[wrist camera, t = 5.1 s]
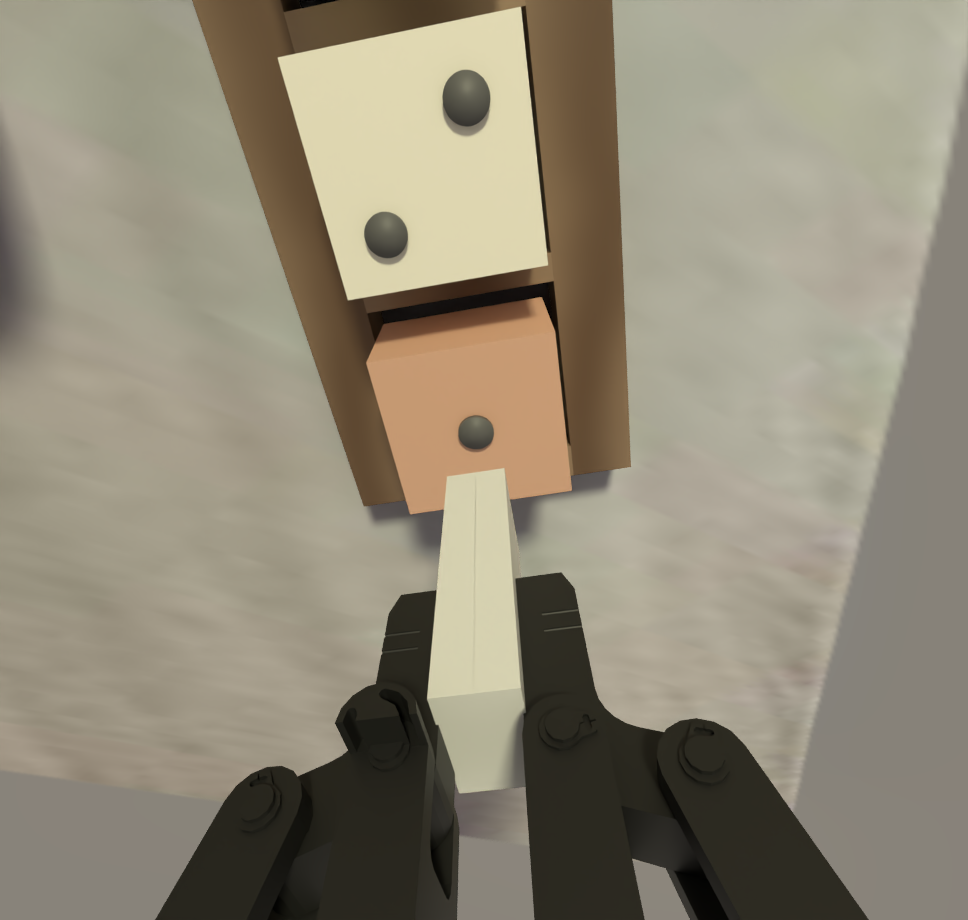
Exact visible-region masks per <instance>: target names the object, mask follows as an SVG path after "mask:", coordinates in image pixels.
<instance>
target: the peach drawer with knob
mask: <svg viewBox="0 0 968 920" xmlns="http://www.w3.org/2000/svg"><path fill="white" fill-rule="evenodd" d="M366 364H367V368H368V371H369V375H370V378H371V381H372V385H373V388H374V392H375V395H376V399H377V402H378V405H379V409H380V412H381V416H382V419H383V423H384V426H385V430H386V433H387V436H388V440H389V443H390V447H391V450H392V454H393V457H394V461H395V464H396V467H397V471H398V474H399V478H400V481H401V485H402V488H403V492H404V495H405V498H406V502H407V505H408V509H409V512H410V514H416V513H423V512H429V511H436V510H443V509H444V505H445V494H446V482H447V476H454V475H461V474H467V473H474V472H481V471H488V470H495V469H501V468H505V474H506V480H507V485H508V491H509V497H510V500H511V499H518V498H525V497H532V496H539V495H546V494H552V493H559V492H566V491H572V486H571V477H570V467H569V458H568V448H567V439H566V429H565V420H564V410H563V401H562V391H561V382H560V373H559V363H558V354H557V344H556V335H555V330H554V327H553V325H552V322H551V319H550V317H549V314H548V312H547V309H546V307H545V304H544V301H543V299H542V297H539V298H533V299H527V300H521V301H515V302H510V303H504V304H498V305H492V306H486V307H480V308H475V309H469V310H463V311H457V312H451V313H445V314H440V315H434V316H428V317H422V318H416V319H410V320H405V321H399V322H393V323H387V324H383V326H382V329H381V331H380V333H379V335H378V338H377V340H376V342H375V344H374V346H373V349H372V351H371V353H370V355H369V358H368V360H367V362H366Z"/></svg>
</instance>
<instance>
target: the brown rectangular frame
mask: <svg viewBox="0 0 968 920" xmlns="http://www.w3.org/2000/svg"><path fill="white" fill-rule="evenodd" d="M192 1H193V4H194V7H195V10H196V13H197V16H198V19H199V22H200V24H201V27H202V30H203V33H204V36H205V39H206V42H207V45H208V48H209V51H210V54H211V57H212V60H213V63H214V66H215V69H216V72H217V75H218V78H219V80H220V83H221V86H222V89H223V92H224V95H225V98H226V101H227V104H228V107H229V110H230V113H231V116H232V119H233V122H234V125H235V128H236V131H237V134H238V136H239V139H240V142H241V145H242V148H243V151H244V154H245V157H246V160H247V163H248V166H249V169H250V172H251V175H252V178H253V181H254V184H255V187H256V190H257V192H258V195H259V198H260V201H261V204H262V207H263V210H264V213H265V216H266V219H267V222H268V225H269V228H270V231H271V234H272V237H273V240H274V243H275V246H276V248H277V251H278V254H279V257H280V260H281V263H282V266H283V269H284V272H285V275H286V278H287V281H288V284H289V287H290V290H291V293H292V296H293V299H294V301H295V304H296V307H297V310H298V313H299V316H300V319H301V322H302V325H303V328H304V331H305V334H306V337H307V340H308V343H309V346H310V349H311V352H312V355H313V357H314V360H315V363H316V366H317V369H318V372H319V375H320V378H321V381H322V384H323V387H324V390H325V393H326V396H327V399H328V402H329V405H330V408H331V411H332V413H333V416H334V419H335V422H336V425H337V428H338V431H339V434H340V437H341V440H342V443H343V446H344V449H345V452H346V455H347V458H348V461H349V464H350V467H351V469H352V472H353V475H354V478H355V481H356V484H357V487H358V490H359V493H360V496H361V499H362V502H363V505H364V506H370V505H377V504H384V503H390V502H397V501H404V500H406V498H405V495H404V492H403V488H402V485H401V481H400V478H399V474H398V471H397V467H396V464H395V461H394V457H393V454H392V450H391V447H390V443H389V440H388V436H387V433H386V430H385V426H384V423H383V419H382V416H381V412H380V409H379V405H378V402H377V399H376V395H375V392H374V388H373V385H372V381H371V378H370V375H369V371H368V368H367V364H366V362H367V360H368V358H369V355H370V353H371V351H372V349H373V346H374V344H375V342H376V340H377V338H378V335H379V333H380V331H381V329H382V326H383V324H384V321H383V317H382V314H381V311H384V310H389V309H395V308H401V307H407V306H413V305H418V304H424V303H430V302H436V301H441V300H447V299H453V298H459V297H464V296H470V295H476V294H482V293H488V292H493V291H499V290H505V289H511V288H516V287H522V286H528V285H534V284H539V283H545V282H548V287H549V296H550V305H551V314H552V324H553V327H554V330H555V335H556V344H557V354H558V363H559V373H560V382H561V391H562V401H563V410H564V420H565V429H566V439H567V448H568V458H569V467H570V476H572V475H579V474H586V473H593V472H599V471H606V470H613V469H620V468H626V467H631V460H630V435H629V411H628V386H627V361H626V336H625V311H624V286H623V261H622V236H621V211H620V186H619V161H618V136H617V111H616V86H615V61H614V36H613V11H612V0H339V1H334V2H329V3H325V4H320V5H315V6H311V7H306V8H301V6H300V2H299V0H192ZM517 7H521V13H522V22H523V32H524V41H525V50H526V60H527V69H528V79H529V88H530V98H531V107H532V117H533V126H534V136H535V145H536V155H537V164H538V174H539V183H540V193H541V202H542V211H543V221H544V230H545V240H546V249H547V259H548V265H547V266H541V267H536V268H530V269H524V270H519V271H513V272H507V273H501V274H496V275H490V276H484V277H479V278H473V279H467V280H462V281H456V282H450V283H444V284H439V285H433V286H427V287H422V288H416V289H410V290H405V291H399V292H393V293H387V294H382V295H376V296H370V297H365V298H359V299H353V300H348V299H347V295H346V292H345V288H344V285H343V282H342V278H341V275H340V271H339V268H338V264H337V261H336V257H335V254H334V251H333V247H332V244H331V240H330V237H329V233H328V230H327V226H326V223H325V220H324V216H323V213H322V209H321V206H320V202H319V199H318V196H317V192H316V189H315V185H314V182H313V178H312V175H311V171H310V168H309V165H308V161H307V158H306V154H305V151H304V147H303V144H302V140H301V137H300V134H299V130H298V127H297V123H296V120H295V116H294V113H293V109H292V106H291V103H290V99H289V96H288V92H287V89H286V85H285V82H284V78H283V75H282V72H281V68H280V65H279V61H278V57H282V56H287V55H292V54H297V53H302V52H306V51H311V50H316V49H321V48H325V47H330V46H335V45H340V44H345V43H349V42H354V41H359V40H364V39H369V38H373V37H378V36H383V35H388V34H393V33H397V32H402V31H407V30H412V29H416V28H421V27H426V26H431V25H436V24H440V23H445V22H450V21H455V20H460V19H464V18H469V17H474V16H479V15H483V14H488V13H493V12H498V11H503V10H507V9H512V8H517Z"/></svg>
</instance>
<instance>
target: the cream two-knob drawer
mask: <svg viewBox="0 0 968 920" xmlns="http://www.w3.org/2000/svg"><path fill="white" fill-rule="evenodd" d="M278 61H279V65H280V68H281V72H282V75H283V78H284V82H285V85H286V89H287V92H288V96H289V99H290V103H291V106H292V109H293V113H294V116H295V120H296V123H297V127H298V130H299V134H300V137H301V140H302V144H303V147H304V151H305V154H306V158H307V161H308V165H309V168H310V171H311V175H312V178H313V182H314V185H315V189H316V192H317V196H318V199H319V202H320V206H321V209H322V213H323V216H324V220H325V223H326V226H327V230H328V233H329V237H330V240H331V244H332V247H333V251H334V254H335V257H336V261H337V264H338V268H339V271H340V275H341V278H342V282H343V285H344V288H345V292H346V295H347V299H348V300H353V299H359V298H365V297H370V296H376V295H382V294H387V293H393V292H399V291H405V290H410V289H416V288H422V287H427V286H433V285H439V284H444V283H450V282H456V281H462V280H467V279H473V278H479V277H484V276H490V275H496V274H501V273H507V272H513V271H519V270H524V269H530V268H536V267H541V266H547V265H548V259H547V249H546V240H545V230H544V221H543V211H542V202H541V193H540V183H539V174H538V164H537V155H536V145H535V136H534V126H533V117H532V107H531V98H530V88H529V79H528V69H527V60H526V50H525V41H524V32H523V22H522V13H521V7H517V8H512V9H507V10H503V11H498V12H493V13H488V14H483V15H479V16H474V17H469V18H464V19H460V20H455V21H450V22H445V23H440V24H436V25H431V26H426V27H421V28H416V29H412V30H407V31H402V32H397V33H393V34H388V35H383V36H378V37H373V38H369V39H364V40H359V41H354V42H349V43H345V44H340V45H335V46H330V47H325V48H321V49H316V50H311V51H306V52H302V53H297V54H292V55H287V56H282V57H278Z"/></svg>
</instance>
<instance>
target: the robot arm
mask: <svg viewBox="0 0 968 920" xmlns="http://www.w3.org/2000/svg"><path fill="white" fill-rule="evenodd" d="M385 636H386V637H385V638H384V643H383V648H382V655H381V659H380V665H379V670H378V676H377V681H376V684H375V685H371V686H368V687H366V688H364V689H362V690H361V691H359V692H358V693H356V694H355V695H353V696H352V697H351V698H350V699H349V700H348V702H347V703H346V704H345V705H344V706H343V707H342V708H341V710H340V713H339V715H338V717H337V720H336V722H335V724H336V726H337V728H338V730H339V732H340V734H341V736H342V738H343V741H344V743H345V745H346V747H347V749H348V751H347V752H346V753H345V754H343V755H342V756H341V757H339V758H337V759H335V760H333V761H332V762H330V763H328V764H325V765H323V766H321V767H318V768H316V769H314V770H312V771H309V772H307V773H305V774H302V775H300V776H298V777H297V775H296V774H295V772H294V771H292V770H290V769H288V768H285V767H283V766H275V767H266V768H264V769H261V770H259V771H257V772H255V773H252V774H251V775H249V776H248V777H247V778H246V779H244V780H243V781H242V782H241V783H239V784H238V785H237V786H236V787H235V788H234V790H233V791H232V792H231V793H230V795H229V796H228V797H227V799H226V800H225V801H224V803H223V805H222V807H221V808H220V810H219V812H218V813H217V815H216V817H215V819H214V820H213V822H212V824H211V826H210V827H209V829H208V830H207V832H206V834H205V836H204V837H203V839H202V841H201V842H200V844H199V846H198V848H197V849H196V851H195V853H194V855H193V856H192V858H191V860H190V861H189V863H188V865H187V866H186V868H185V870H184V872H183V873H182V875H181V877H180V879H179V880H178V882H177V883H176V885H175V887H174V889H173V890H172V892H171V894H170V895H169V897H168V899H167V901H166V902H165V904H164V906H163V907H162V909H161V911H160V913H159V914H158V916H157V918H156V919H155V920H457V895H458V855H459V825H458V818H457V814H456V811H455V808H454V790H455V782H456V785H457V788H458V791H459V794H460V793H470V792H479V791H489V790H499V789H509V788H518V787H526V800H527V815H528V830H529V844H530V858H531V873H532V888H533V904H534V918H535V920H644V915H643V910H642V905H641V900H640V895H639V890H638V886H637V881H636V876H635V871H634V866H633V861H632V859H636V860H639V861H643V862H646V863H650V864H653V865H657V866H660V867H664V868H666V870H667V872H668V874H669V876H670V878H671V880H672V882H673V884H674V886H675V889H676V891H677V893H678V895H679V897H680V899H681V901H682V903H683V905H684V907H685V909H686V912H687V914H688V916H689V918H690V920H868V918H867V917H866V915H865V914H864V912H863V911H862V910H861V908H860V907H859V905H858V904H857V903H856V901H855V900H854V898H853V897H852V896H851V894H850V893H849V891H848V890H847V889H846V887H845V886H844V884H843V883H842V881H841V880H840V879H839V877H838V876H837V875H836V873H835V872H834V870H833V869H832V867H831V866H830V865H829V863H828V862H827V860H826V859H825V857H824V856H823V855H822V853H821V852H820V850H819V849H818V848H817V846H816V845H815V844H814V842H813V841H812V839H811V838H810V836H809V835H808V834H807V832H806V831H805V829H804V828H803V827H802V825H801V824H800V822H799V821H798V819H797V818H796V817H795V815H794V814H793V812H792V811H791V809H790V808H789V807H788V805H787V804H786V802H785V801H784V800H783V798H782V797H781V795H780V794H779V793H778V791H777V790H776V788H775V787H774V785H773V784H772V783H771V781H770V780H769V778H768V777H767V776H766V774H765V773H764V771H763V770H762V769H761V767H760V766H759V764H758V763H757V761H756V760H755V759H754V757H753V756H752V754H751V753H750V752H749V750H748V749H747V747H746V746H745V745H744V744H743V743H742V742H741V741H740V740H739V739H738V737H737V736H736V735H735V734H734V733H733V732H732V731H730V730H728V729H727V728H725V727H723V726H721V725H719V724H717V723H715V722H712V721H707V720H702V719H697V718H696V719H689V720H682V721H679V722H677V723H675V724H674V725H672V726H670V727H669V728H667V729H666V731H665V732H660V731H655V730H650V729H645V728H640V727H636V726H633V725H630V724H627V723H625V722H623V721H621V720H619V719H618V718H616V717H614V716H613V715H612V714H611V713H610V712H609V711H607V710H606V709H605V708H604V706H603V705H602V703H601V702H600V700H599V699H598V696H597V693H596V690H595V687H594V682H593V677H592V672H591V667H590V662H589V657H588V652H587V648H586V643H585V638H584V633H583V628H582V623H581V618H580V613H579V609H578V604H577V599H576V594H575V589H574V587H573V586H572V585H571V584H570V582H569V581H568V580H567V579H566V578H565V576H564V575H563V574H562V573H553V574H546V575H538V576H531V577H523V578H522V577H521V567H520V556H519V547H518V542H517V536H516V531H515V525H514V519H513V514H512V508H511V502H510V497H509V491H508V485H507V480H506V474H505V468H501V469H495V470H488V471H481V472H474V473H467V474H461V475H454V476H447V482H446V494H445V505H444V516H443V527H442V538H441V549H440V560H439V571H438V582H437V590H435V591H428V592H420V593H413V594H405V595H401V596H400V598H399V599H398V601H397V602H396V604H395V605H394V607H393V608H392V610H391V611H390V613H389V616H388V621H387V627H386V632H385Z"/></svg>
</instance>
